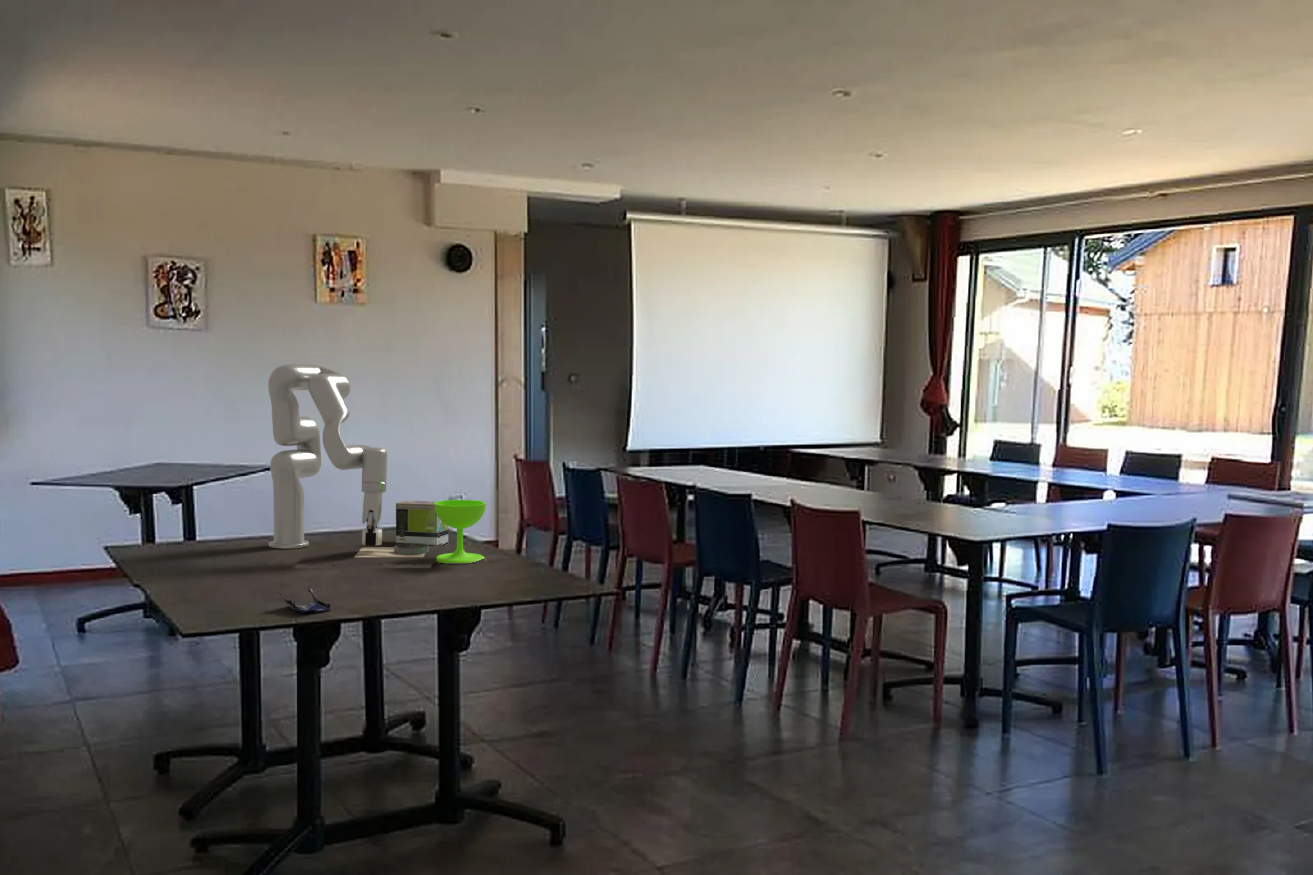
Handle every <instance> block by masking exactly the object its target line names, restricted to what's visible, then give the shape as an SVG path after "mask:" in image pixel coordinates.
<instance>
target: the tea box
mask: <svg viewBox="0 0 1313 875" xmlns="http://www.w3.org/2000/svg"><path fill="white" fill-rule="evenodd" d="M438 501H439V500H438ZM438 501H437V500H415V499H414V500H413V499H409V500H408V499H407V500H404V501H403V500H402V501H400V502H396V503H395V543H397V544H405V543H421V544H427V545H429V546H438V545H440V544H441V546H442V545H443V544H445V543H447V542H448V543H449V526H447V525H446V524H444V523H443V522H442V521H441V520H440V519H439V517H438V516H437V514H436V511H435V507H434V502H438Z"/></svg>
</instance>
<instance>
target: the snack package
mask: <svg viewBox="0 0 1313 875" xmlns="http://www.w3.org/2000/svg"><path fill="white" fill-rule="evenodd" d="M303 589H306V587H304V588H303ZM297 590H298V591H299V589H297ZM307 591H308V593H310V594H311V596H312V599H313V602H311V603H308V604H305V605H298V604H296V600H294V599H291V600H288V599H286V598H285V597H284V595H283V594H282V593H281V592H279V595H280V596H281V598H282V599H283V601H284V602H285V604H286V605H288V606H289V607H290V608H291V610H293V611H297V612H300V613H301V614H303V613H308V612H314V613H315V614H321V613H322V614H323V613H325V612H328V611H331V610H332V607H331V603H324V602H323V601H320V600H319V599H318V597H317V595H316V594H314V591H313V589H312V588H311V587H308V588H307ZM291 596H292V597H293V596H294V594H291ZM299 607H300V608H299Z"/></svg>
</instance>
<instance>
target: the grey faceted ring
mask: <svg viewBox="0 0 1313 875" xmlns="http://www.w3.org/2000/svg"><path fill="white" fill-rule="evenodd" d="M393 547H394V553H396V554H401V555H419V554H425V555H426V554H429V552H430V550H429V549H430V545H427V544H421V543H397V544H395V545H394V546H393Z"/></svg>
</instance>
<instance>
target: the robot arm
mask: <svg viewBox="0 0 1313 875" xmlns="http://www.w3.org/2000/svg"><path fill="white" fill-rule="evenodd" d="M267 385H268V386H267V387H268V393H269V394H268V395H269V398H270V403H271V404H270V406H271V420H272V422H271V423H272V434H273V440H274V442H275V443H276V444H277V445H279V446H282V447H293V446H296V449H288V450H282V451H278V452H277V453H275V454H274V455H273V456H272V458H271V460H270V464H269V466H270V467H269V469H270V473H271V479H272V488H273V489H272V490H273V541H269V543H268V547H269V548H273V549H299V548H300V549H301V548H304V547H308V546H309V545H310V542H309V540H305V492H304V487H303V485H302V482H301V480H300V479H303V478H304V479H305V478H310V477H314V476H316V475H317V474H318V473H319V472H320V470H321V466H322V450H321V449H322V446H321V434H320V433H321V431H320V428H319V426H318V423H317V422H316V421H315V420H314V419H313V418H311V417H309V416H300V405H299V401H298V399H297V397H296V395H295V394H294V393H293V392H294V391H308V392H309V394H310V396H311V398H312V400H313V403H314V405H315V407H316V409H317V411H318V413H319V415H320V417H321V420H322V422H323V424H324V425H323V430H322V445H323V448H324V451H325V453H326V454H327V457H328V459H329V461H330V462H331V464H332V465H333V466H334V467H335V468H336V469H338V470H341V471H346V470H347V471H348V470H354V469H355V470H358V469H361V489H360V490H361V492H362V493H363V501H362V502H363V503H362V516H361V518H362V519H361V523H362V524H365V523H366V528H365V529H366V535H365V545H364V546H368V547H369V546H370V547H373V546H374V547H376V546H377V545H376V533H375V530H376V528H378V529H380V526H379V522H380V521H381V519H382V512H383V510H382V509H383V494H384V493H386V492H387V477H388V476H387V474H388V472H387V471H388V452H387V449H385V448H383V447H372V446H369V445H365V444H352V445H345V444H346V443H345V442H344V441H343V438H342V436H341V433H340V428H341V424H343V423H344V422H346V421H347V420H348V419H349V417H350V415H351V414H350V411H349V408H348V407H347V405H346V403H345V400H344V399H346V398H347V397H348V396H349V394H350V392H351V384H350V382H349V379H348V378H347V377H346V376H345V375H343V374H341V373H339V372H337V371H333V370H331V369H329V368H326V367H323V366H320V365H317V364H307V363H305V364H304V363H303V364H302V363H301V364H300V363H289V364H282V365H280V366H277V367H276V368H275V369H274V370H272V372H271V373H270V376H269V377H268V383H267ZM375 545H376V546H375Z"/></svg>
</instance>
